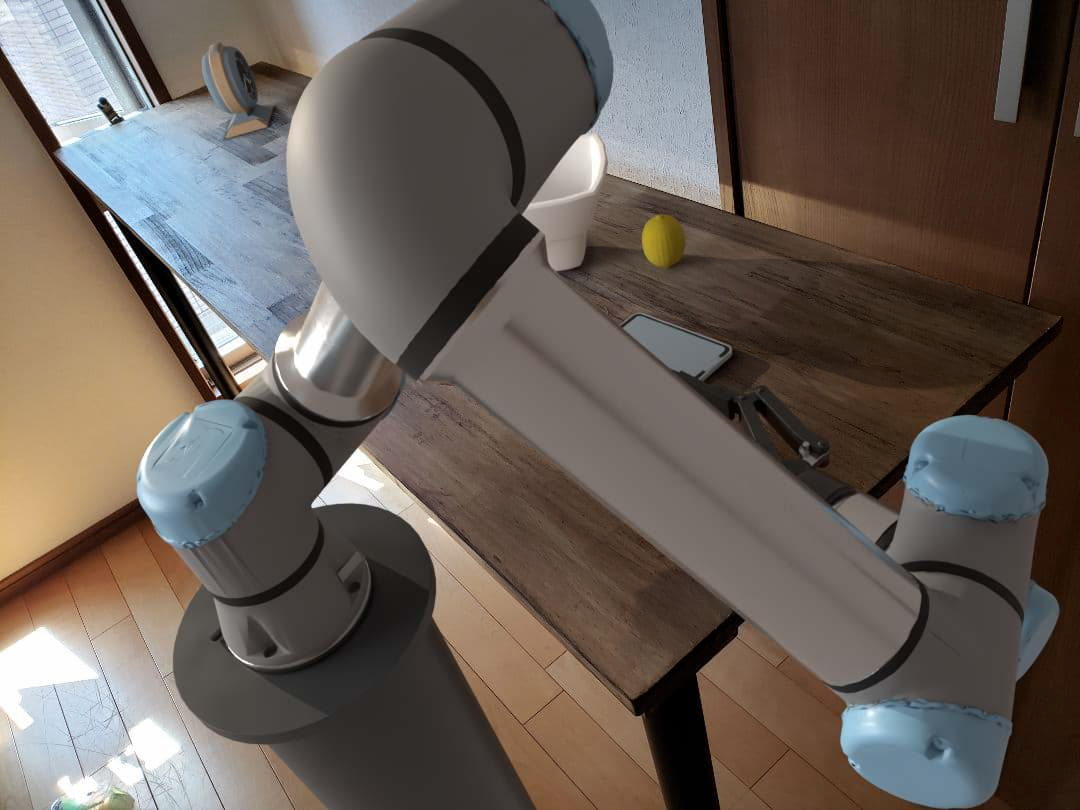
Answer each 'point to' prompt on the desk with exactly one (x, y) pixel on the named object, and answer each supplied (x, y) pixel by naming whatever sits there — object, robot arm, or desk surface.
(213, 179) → the desk surface
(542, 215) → the bowl
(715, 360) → the smartphone
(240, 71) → the alarm clock
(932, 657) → the robot arm
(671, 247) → the lemon
